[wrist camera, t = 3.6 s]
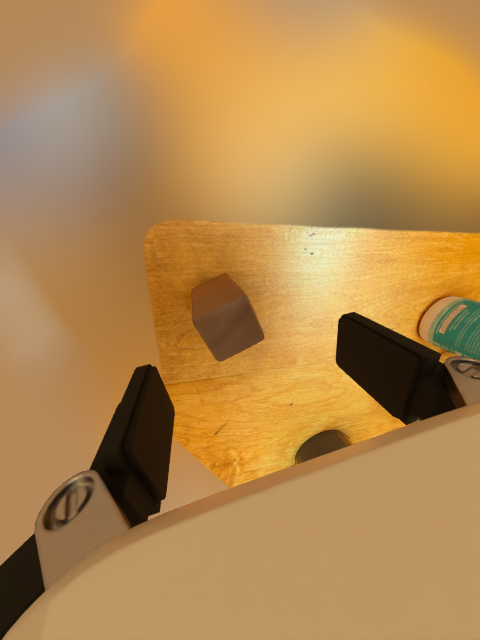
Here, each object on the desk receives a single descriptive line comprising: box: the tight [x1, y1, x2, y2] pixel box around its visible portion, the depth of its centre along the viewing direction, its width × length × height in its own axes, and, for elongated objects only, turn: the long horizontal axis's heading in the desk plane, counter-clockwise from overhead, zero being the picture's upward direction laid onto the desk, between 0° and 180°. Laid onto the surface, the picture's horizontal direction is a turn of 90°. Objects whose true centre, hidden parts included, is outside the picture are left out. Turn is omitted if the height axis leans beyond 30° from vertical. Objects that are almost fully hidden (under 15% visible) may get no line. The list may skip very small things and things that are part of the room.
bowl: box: [295, 430, 353, 465], centre depth 34 cm, size 11×11×6 cm
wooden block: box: [192, 274, 264, 362], centre depth 17 cm, size 4×4×8 cm
